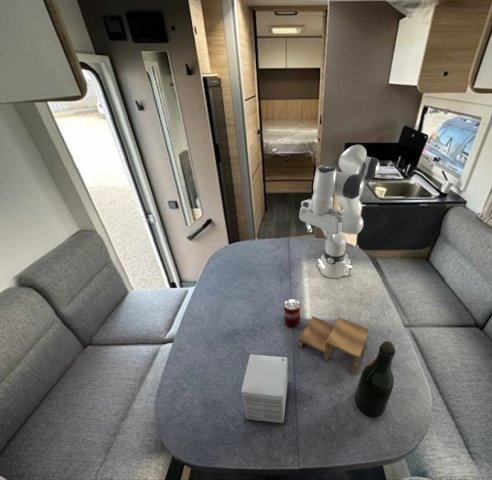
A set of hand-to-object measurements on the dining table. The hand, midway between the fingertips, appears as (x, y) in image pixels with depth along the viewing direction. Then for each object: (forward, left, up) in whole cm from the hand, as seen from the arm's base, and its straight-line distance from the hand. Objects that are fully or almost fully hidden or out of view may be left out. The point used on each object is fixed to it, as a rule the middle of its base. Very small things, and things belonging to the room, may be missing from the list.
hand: (318, 235), depth 114 cm
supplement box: (+53, +6, -39) cm, 66 cm away
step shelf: (+21, +18, -39) cm, 48 cm away
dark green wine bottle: (+36, +38, -39) cm, 66 cm away
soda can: (+18, -3, -39) cm, 43 cm away
